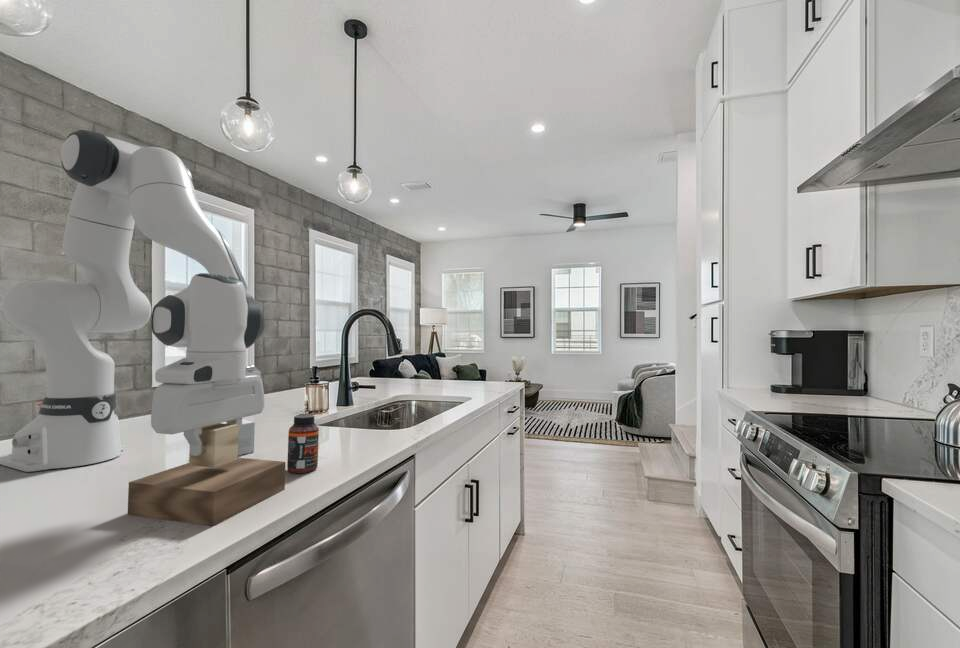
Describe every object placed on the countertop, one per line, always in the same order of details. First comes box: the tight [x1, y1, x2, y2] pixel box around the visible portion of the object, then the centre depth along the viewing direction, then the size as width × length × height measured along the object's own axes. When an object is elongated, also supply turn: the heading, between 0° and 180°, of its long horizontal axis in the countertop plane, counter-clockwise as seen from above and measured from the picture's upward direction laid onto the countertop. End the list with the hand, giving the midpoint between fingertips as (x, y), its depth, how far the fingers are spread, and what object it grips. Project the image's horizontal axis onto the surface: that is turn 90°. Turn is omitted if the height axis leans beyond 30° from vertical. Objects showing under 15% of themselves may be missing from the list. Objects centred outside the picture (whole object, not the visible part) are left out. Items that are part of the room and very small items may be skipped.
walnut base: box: [127, 457, 286, 527], centre depth 74 cm, size 16×16×5 cm
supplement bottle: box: [286, 413, 320, 474], centre depth 92 cm, size 6×6×11 cm
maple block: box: [188, 423, 239, 468], centre depth 75 cm, size 5×5×6 cm
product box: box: [222, 418, 256, 457], centre depth 104 cm, size 6×6×7 cm
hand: (213, 449), depth 75 cm, fingers closed on maple block, 5 cm apart
